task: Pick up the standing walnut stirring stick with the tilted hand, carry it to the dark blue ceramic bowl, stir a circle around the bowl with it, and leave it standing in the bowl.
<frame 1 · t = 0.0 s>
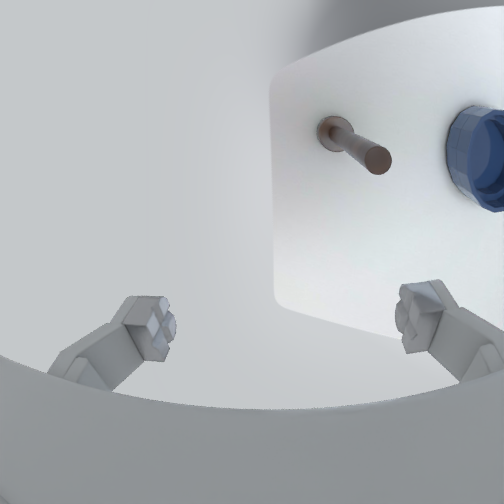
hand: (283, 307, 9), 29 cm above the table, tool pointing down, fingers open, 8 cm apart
bowl: (480, 152, 30), on the table
stick: (333, 132, 32), on the table
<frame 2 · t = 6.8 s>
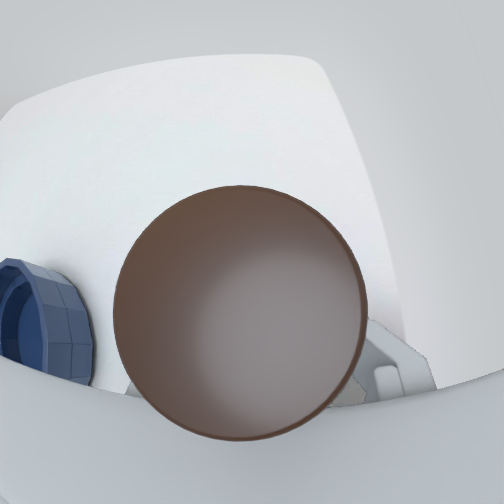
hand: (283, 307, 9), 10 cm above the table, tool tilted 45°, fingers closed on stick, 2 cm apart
bowl: (48, 342, 22), on the table
stick: (292, 327, 19), on the table, touching gripper
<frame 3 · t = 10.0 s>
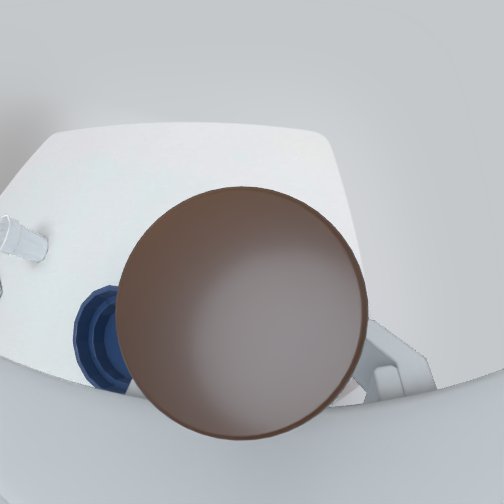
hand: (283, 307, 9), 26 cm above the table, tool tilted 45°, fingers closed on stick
bowl: (135, 342, 37), on the table
cup: (41, 249, 45), on the table
stick: (292, 328, 19), point 15 cm above the table, touching gripper
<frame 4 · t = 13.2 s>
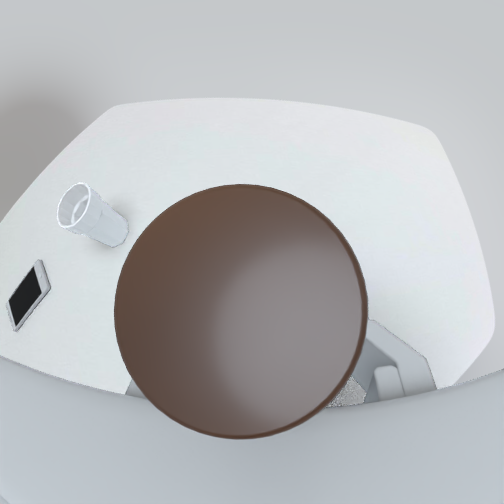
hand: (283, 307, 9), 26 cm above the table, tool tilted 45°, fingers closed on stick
cup: (116, 232, 42), on the table
smartphone: (27, 297, 42), on the table
stick: (292, 327, 19), point 16 cm above the table, touching gripper
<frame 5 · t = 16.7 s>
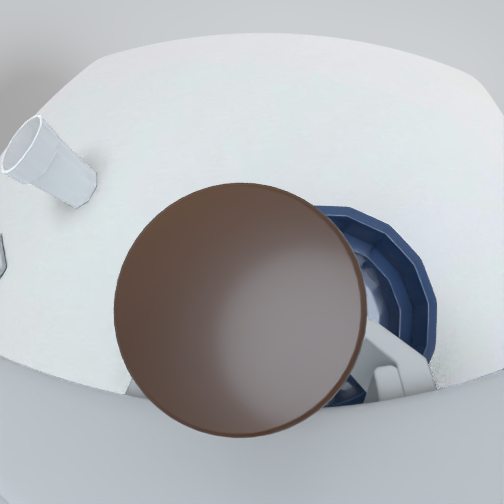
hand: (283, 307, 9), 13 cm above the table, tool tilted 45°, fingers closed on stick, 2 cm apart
bowl: (317, 326, 21), on the table
cup: (82, 189, 29), on the table
stick: (292, 327, 19), point 2 cm above the table, touching gripper
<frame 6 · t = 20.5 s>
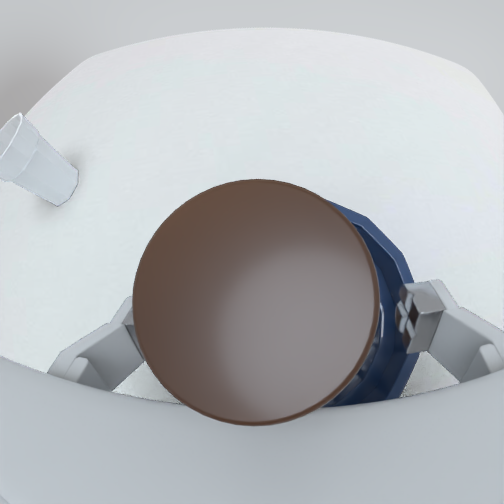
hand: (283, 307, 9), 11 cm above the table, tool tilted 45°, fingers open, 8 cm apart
bowl: (292, 328, 20), on the table
cup: (64, 187, 28), on the table
stick: (294, 326, 19), point 1 cm above the table, touching bowl
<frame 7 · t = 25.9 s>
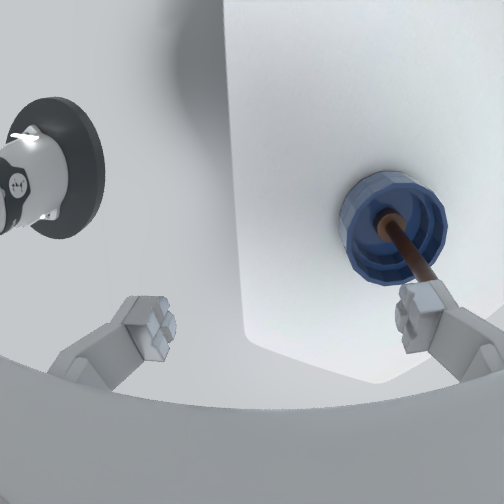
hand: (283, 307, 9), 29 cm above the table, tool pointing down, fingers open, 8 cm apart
bowl: (386, 219, 37), on the table
stick: (387, 222, 37), point 1 cm above the table, touching bowl
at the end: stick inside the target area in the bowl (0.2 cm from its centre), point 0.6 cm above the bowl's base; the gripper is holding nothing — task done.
